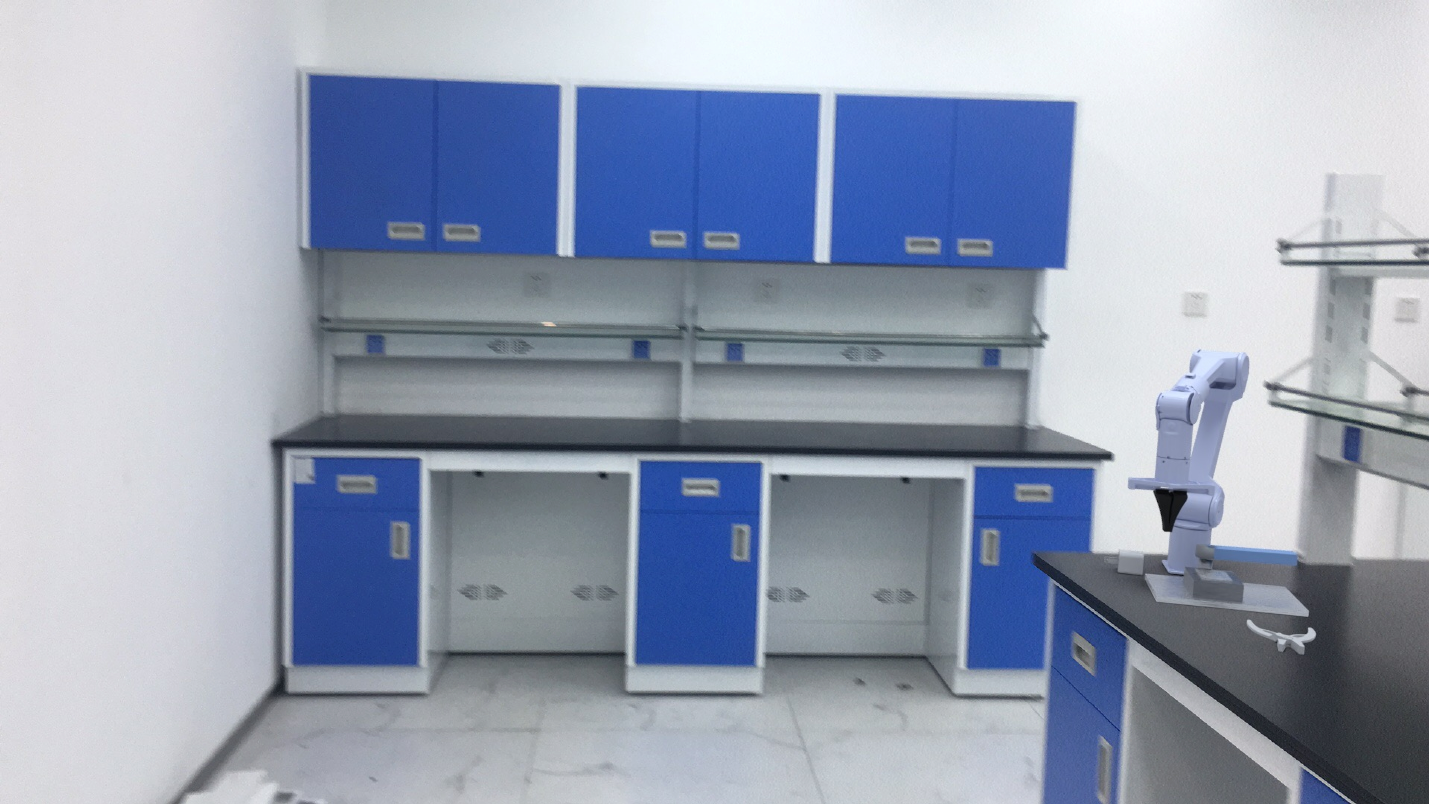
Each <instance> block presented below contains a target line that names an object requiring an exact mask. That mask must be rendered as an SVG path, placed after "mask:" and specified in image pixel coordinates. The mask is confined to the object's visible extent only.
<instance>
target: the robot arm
mask: <svg viewBox="0 0 1429 804" xmlns="http://www.w3.org/2000/svg"><path fill="white" fill-rule="evenodd" d="M1249 375H1250V358H1249V356H1248V354H1247V353H1246V352H1245V351H1241V352H1235V351H1219V350H1202V349H1200V348H1198V349H1195V351H1193V353H1192V354H1191V356H1190V360H1189V372H1186V373H1185V374H1184V375H1182V376H1181V377H1180V378H1179V379H1178V380H1177V382H1176V383H1175V384H1174V385H1173V387H1172V388H1171V389H1170V390H1168V389H1167V390H1166V389H1165V390H1164V391H1163V392H1160V393H1158V394H1157V398H1156V401H1155V406H1154V407H1155V408H1154V409H1155V410H1154V411H1155V413H1154V414H1155V421H1156V424H1155V430H1156V431H1158V434H1157V445H1156V456H1155V457H1156V458H1155V469H1154V477H1131V476H1129V477H1128V479H1127V481H1128V482H1127V488H1128V490H1144V491H1145V490H1146V491H1152V493H1153V495H1154V498H1155V501H1156V503H1157V507H1158V509H1159V513H1160V514H1159V515H1160V518H1161V527H1162V532H1164V533H1169V538H1168V539H1169V540H1168V548H1167V549H1168V550H1167V559H1162V560H1161V562H1162V564H1163V566H1164V568H1165V570H1166V571H1167V573H1168V574H1172V575H1173V574H1175V575H1183V576H1184V567H1192V568H1198V560H1199V558H1198V557H1196V556H1195V553H1196V545H1197V544H1208V545H1212V544H1211V542H1212V529H1215V528H1217V527H1218V526H1219V525H1220V524H1221V522H1222V519H1223V514H1224V507H1225V506H1224V505H1225V504H1224V503H1225V499H1226V495H1225V492H1224V490H1223V488H1222V486H1221V485H1220V484H1218V482H1217V481H1216V480H1214V476H1215V471H1216V468H1217V463H1218V460H1219V455H1220V450H1221V448H1222V447H1221V446H1222V443H1223V439H1224V434H1225V431H1226V427H1227V422H1228V420H1229V419H1228V418H1229V415H1230V411H1231V409H1232V406H1233V403H1234V402H1236V401H1239V400H1241V399H1242V398H1243V396H1244V394H1245V391H1246V387H1247V383H1248V379H1249ZM1203 403H1204V404H1203ZM1202 404H1203V408H1202ZM1201 409H1202V412H1201ZM1200 412H1201V414H1200ZM1199 415H1201V416H1200V419H1199ZM1198 420H1199V424H1198V427H1197V431H1196V435H1195V439H1194V443H1193V435H1194V433H1193V432H1194V425H1195V424H1197V422H1198Z"/></svg>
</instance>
